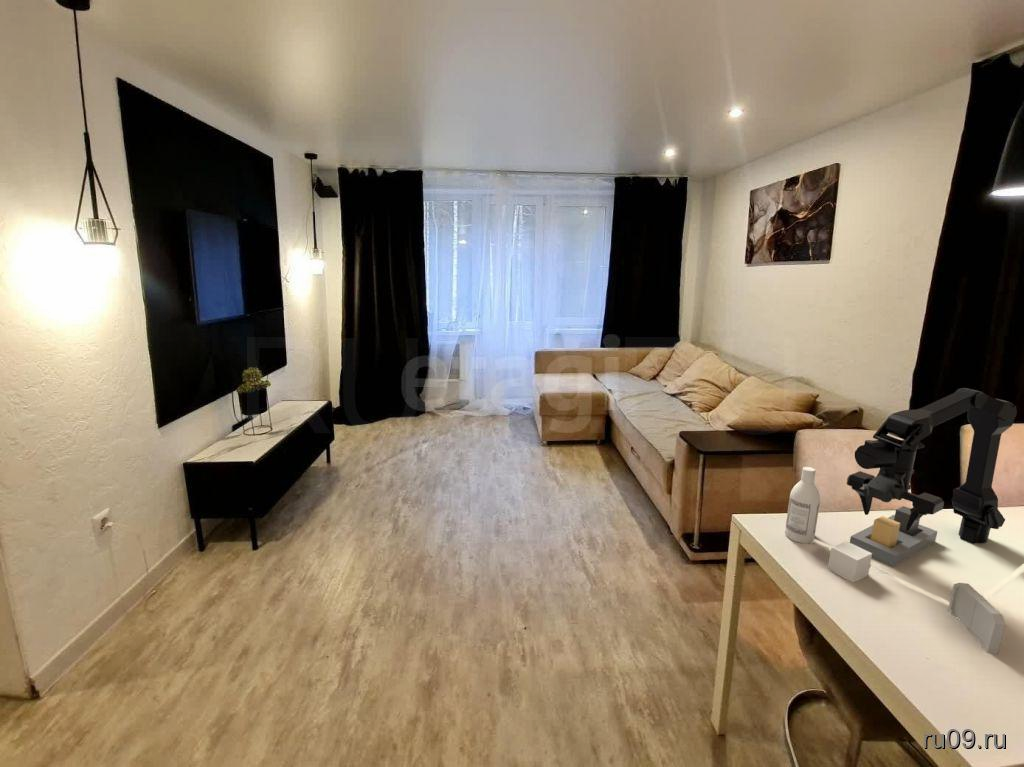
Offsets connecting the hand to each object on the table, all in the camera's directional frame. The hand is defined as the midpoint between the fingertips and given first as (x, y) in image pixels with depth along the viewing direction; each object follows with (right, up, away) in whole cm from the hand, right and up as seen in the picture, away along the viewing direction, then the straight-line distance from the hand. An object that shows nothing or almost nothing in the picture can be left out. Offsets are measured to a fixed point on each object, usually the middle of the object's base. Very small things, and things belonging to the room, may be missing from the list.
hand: (886, 522), depth 125 cm
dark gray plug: (+10, -6, +7) cm, 14 cm away
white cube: (-13, -11, -5) cm, 18 cm away
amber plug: (0, -7, +2) cm, 8 cm away
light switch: (-1, -15, -24) cm, 29 cm away
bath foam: (-16, -7, +10) cm, 20 cm away
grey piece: (+5, -8, +5) cm, 10 cm away
